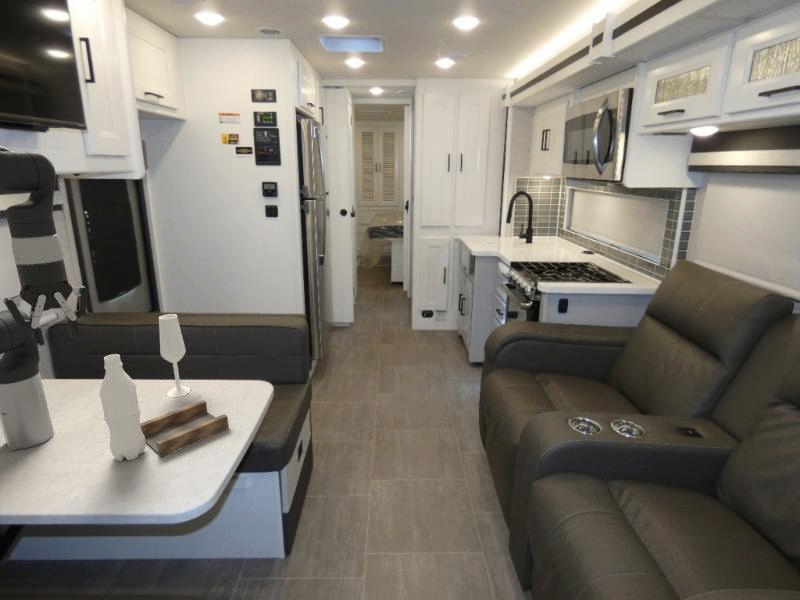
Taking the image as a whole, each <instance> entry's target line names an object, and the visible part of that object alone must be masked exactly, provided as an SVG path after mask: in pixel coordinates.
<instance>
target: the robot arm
mask: <svg viewBox="0 0 800 600" xmlns="http://www.w3.org/2000/svg"><path fill="white" fill-rule="evenodd" d="M56 181H57V173H56V169H55V165H54V163H53V162H52V161H51V160H50V158H48V157H47V155H45V154H43V153H41V152H37V151H12V150H11V149H9V148H7V147H5V146H3V145H0V191H1V192H28V191H29V192H30V194H29V197H28V199H27V200H26V201H24V202H22V203H18V204H13V205H10V206H8V207H7V209H6V210H5V214H6V215H5V216H6V217H5V218H6V220H7V223H8V224H7V225H8V230H9V234H10V238H11V245H12V247H11V249H12V253H13V258H14V263H15V266H16V270H17V275H18V279H19V284H20V291H19V294H18V295H15V296H12V297H6V298H4V299H3V303H4V305H5V307H6V308H7V309H4V310H3V311H0V355H2V357H0V427H1V429H2V433H3V437H4V440H5V443H6V446H7V448H8V449H9V450H10V452H13V451H16V450H25V449H28V448H29V449H30V448H32V447H36V446H38V445H41V444H43V443H45V442H47V441H49V440H50V439H51V438H52V437H53V436H54V434H55V431H54V427H53V423H52V419H51V415H50V410H49V407H48V402H47V397H46V393H45V390H44V384H43V380H42V376H41V372H40V368H39V364H40V361H41V359H40V358H41V357H40V356H41V355H40V350H39V347H40V346H45V344H46V343H45V340H44V336H43V335H44V334H43V331H42V327H41V326H40V322H41V318H42V315H43V313H44V312H45V311H49V310H51V309H55V310H56V309H60V310H61V311H62V312H63V313H64V315H65V316H66V318H67V319H66V324H67V329H68V335H69V337H70V338H71V339H76V338H77V336H78V335H80V334H79V333H80V329H79V325H78V319H79V318H80V317H82V316H85V315H86V314H87V308H88V307H87V306H88V296H89V289H88V288H87V287H85V286H83V285H79V286H72V285H71V284H70V282H69V281H68V280H69V278H68V275H67V270H66V269H67V268H66V266H65V265H66V264H65V260H64V259H65V258H64V252H63V250H62V247H61V242H60V241H59V236H58V234H57V229H56V225H55V220H54V213H53V211H54V199H55V198H54V197H55V196H54V195H55V189H56V188H55V187H56ZM72 292H73V295H74V296H75V297H76V305H75V306H76V307H75V310H73V309H72V307H71V305H70V304H69V303H68V301H67V300H68V299H69V297H70V295H71V294H72ZM21 301H25V303H27V304H28V305H30V306H31V307H30V311H29V315H28V314H27V313H26V312H25V311H24V310H22V309H19V308H20V307H21V306H22V304H21ZM38 345H39V346H38Z"/></svg>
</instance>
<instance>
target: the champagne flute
mask: <svg viewBox="0 0 800 600" xmlns="http://www.w3.org/2000/svg"><path fill="white" fill-rule="evenodd" d="M158 326H159V345H160V346H159V347H160V348H159V350H160V356H161V357H162V358H163V360H166V361H167V362H169V363H172V367H173V374H174V381H175V387H174V388H172V389H170V390H169V391H168V392H167V394H166V395H167V396H168V397H170V398H180V397H183V396H186V395H188V394H190V393H191V392H190V389H191V388H190V387H188V386H183V385H181V381H180V374H179V372H180V371H179V368H178V367H179V366H178V362H179V361H181V360H182V358H183V357H184V356H185V354H186V350H187V349H186V346H185V342H184V338H183V335H182V330H181V327H180V323H179V318H178V315H177V314H175V313H173V314H172V313H168V314H163V315H161V316H159V317H158ZM189 392H190V393H189ZM187 393H188V394H187Z"/></svg>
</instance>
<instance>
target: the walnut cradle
mask: <svg viewBox="0 0 800 600" xmlns="http://www.w3.org/2000/svg"><path fill="white" fill-rule="evenodd" d="M228 419H229V418H228V415H226V413H224V414H221V415H219V416H217V417H216V416H214V415H213V414H211V413H210V412H208V406H207V401H206V400H204V399H203V400H200V401H198V402H195V403H191V404H189V405H187V406H186V405H185V406H184V407H182V408H178V409H175V410H173V411H170V412H167V413H165V414H162V415H160V416H157V417H154V418H152V419H149V420H146V421H143V422H140V427H141V430H142V433H143V435H144V436H145V442H146V445H148V446H149V447H150V449H152V450H153V451H154V452H155V453H156V454H157V455H158V456H159V457H160V458H163V457H165V456H168V455H170V454H172V452H173V453H175V452H177V451H179V450H181V449H180V448H182V449H184V448H186V447H188V446H187V445H189V446H191V445H193V444H195V443H194V442H196V443H198V442H200V441H202V440H201V439H203V440H205V439H206V437H207V438H209V437H208V436H210V437H212V436H214V435H216V434H219V433H221V432H223V431H225V430H228V429H230V427H229V420H228ZM213 434H214V435H213ZM211 435H212V436H211ZM204 438H205V439H204ZM199 440H200V441H199ZM197 441H198V442H197ZM192 443H193V444H192ZM190 444H191V445H190ZM185 446H186V447H185ZM183 447H184V448H183ZM178 449H179V450H178ZM174 451H175V452H174Z"/></svg>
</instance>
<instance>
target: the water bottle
mask: <svg viewBox="0 0 800 600" xmlns="http://www.w3.org/2000/svg"><path fill="white" fill-rule="evenodd" d="M103 361H104V365H103V366H104V367H103V368H104V370H105V375H104V378H103V380H102V383H101V385H100V388H99V397H100V400H101V401H100V402H101V405H102V410H103V419H104V420H103V421H105V424H106V425H107V427H108V430H109V434H110V435H109V438H110V441H109V449H110V452H111V454H112V456H113V457H114V459H115V460H117V461H119V462H121V461H124V460H125V459H126V460H127V461H132V460H135V459H137V458H138V456H139V455H141V454H143V453H144V451H145V448H146V445H147V443H146V442H145V436H144V435H143V433H142V430H141V427H140V423H141V419H140V416H141V408H140V405H139V399H138V394H137V386H136V383H135V381H133V379H132V377H130V375H128V373H127V372H125V370H124V367H123V362H122V361H121V356H120V354H118V353H113V354H109V355H105V356H104V358H103Z"/></svg>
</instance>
